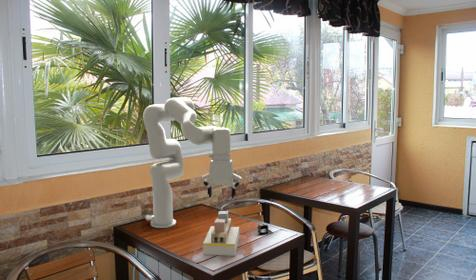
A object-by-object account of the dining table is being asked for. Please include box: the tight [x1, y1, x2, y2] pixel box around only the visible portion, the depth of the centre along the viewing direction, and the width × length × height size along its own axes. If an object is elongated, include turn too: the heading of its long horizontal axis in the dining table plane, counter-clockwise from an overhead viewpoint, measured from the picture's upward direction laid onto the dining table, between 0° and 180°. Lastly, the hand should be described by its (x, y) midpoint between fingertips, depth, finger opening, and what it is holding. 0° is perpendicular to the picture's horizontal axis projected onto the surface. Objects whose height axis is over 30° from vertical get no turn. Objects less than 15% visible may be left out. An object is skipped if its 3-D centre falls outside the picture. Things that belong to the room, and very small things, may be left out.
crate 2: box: [213, 218, 225, 232], centre depth 166 cm, size 4×4×4 cm
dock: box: [202, 225, 240, 257], centre depth 172 cm, size 13×20×5 cm, turn 175°
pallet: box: [211, 217, 232, 243], centre depth 172 cm, size 6×20×4 cm, turn 175°
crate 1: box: [217, 210, 229, 223], centre depth 177 cm, size 4×4×4 cm
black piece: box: [251, 222, 274, 237], centre depth 188 cm, size 12×7×5 cm, turn 110°
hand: (221, 196), depth 170 cm, fingers open, 9 cm apart
